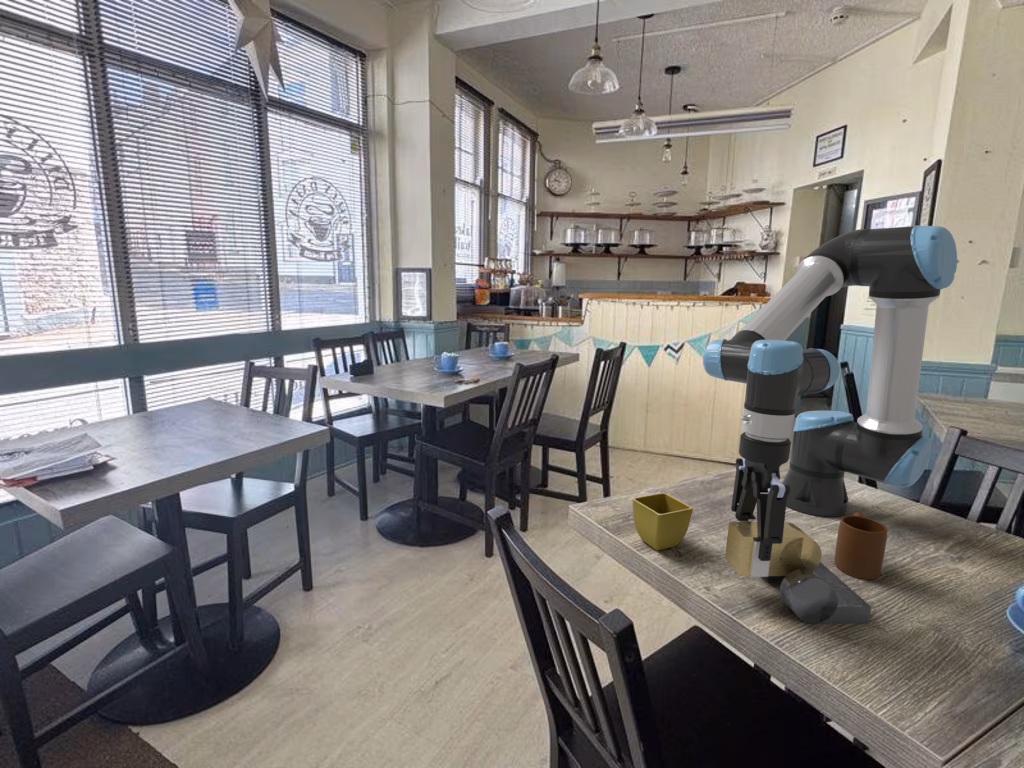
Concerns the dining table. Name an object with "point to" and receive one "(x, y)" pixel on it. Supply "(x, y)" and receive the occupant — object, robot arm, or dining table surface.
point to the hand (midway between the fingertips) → (749, 565)
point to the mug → (860, 546)
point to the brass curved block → (784, 556)
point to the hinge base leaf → (821, 597)
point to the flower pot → (661, 520)
